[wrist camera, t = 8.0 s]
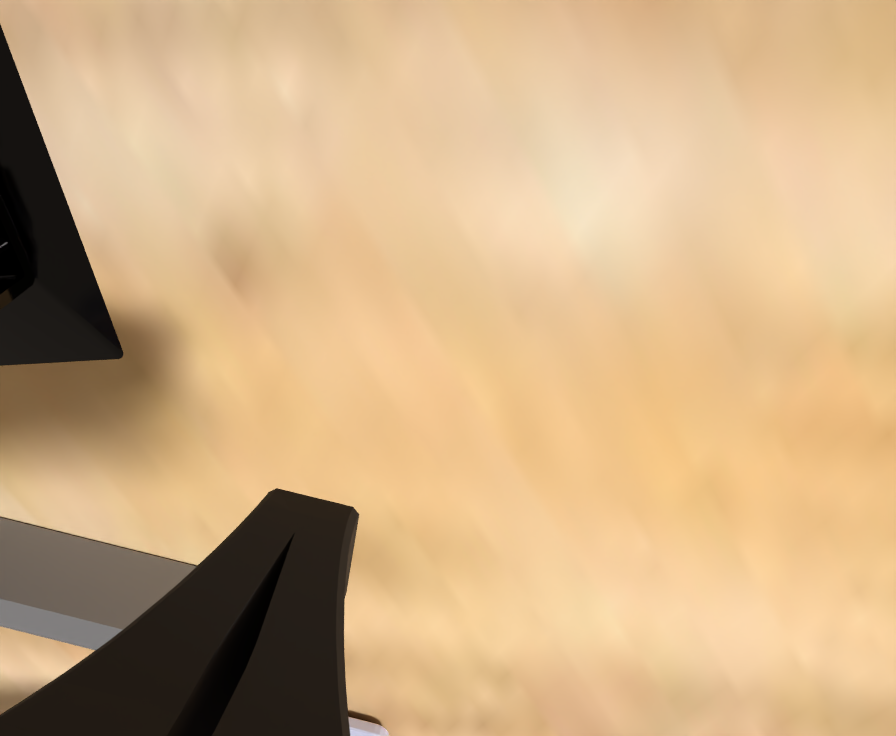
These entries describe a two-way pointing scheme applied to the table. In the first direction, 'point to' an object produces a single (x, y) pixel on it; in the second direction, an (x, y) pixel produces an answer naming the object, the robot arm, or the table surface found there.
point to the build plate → (41, 249)
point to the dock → (76, 584)
